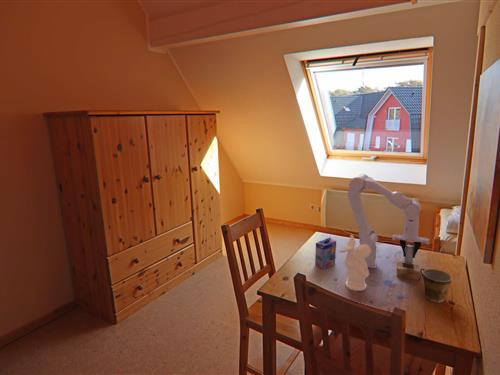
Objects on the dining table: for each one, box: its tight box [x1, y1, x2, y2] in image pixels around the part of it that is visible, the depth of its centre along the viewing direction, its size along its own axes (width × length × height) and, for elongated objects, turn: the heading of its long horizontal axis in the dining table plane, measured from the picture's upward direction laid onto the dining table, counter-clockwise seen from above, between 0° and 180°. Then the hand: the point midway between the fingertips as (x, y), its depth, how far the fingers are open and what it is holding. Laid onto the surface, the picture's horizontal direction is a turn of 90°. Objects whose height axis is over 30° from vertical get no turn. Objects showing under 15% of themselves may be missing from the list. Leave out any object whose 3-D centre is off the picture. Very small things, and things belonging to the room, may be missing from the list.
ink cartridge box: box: [314, 237, 337, 270], centre depth 155 cm, size 10×6×14 cm, turn 129°
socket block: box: [396, 259, 421, 281], centre depth 145 cm, size 9×9×4 cm
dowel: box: [404, 244, 414, 264], centre depth 143 cm, size 3×3×8 cm
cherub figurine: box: [339, 233, 371, 292], centre depth 134 cm, size 12×12×22 cm
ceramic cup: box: [420, 268, 453, 303], centre depth 127 cm, size 13×10×10 cm
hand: (408, 256), depth 143 cm, fingers closed on dowel, 3 cm apart
